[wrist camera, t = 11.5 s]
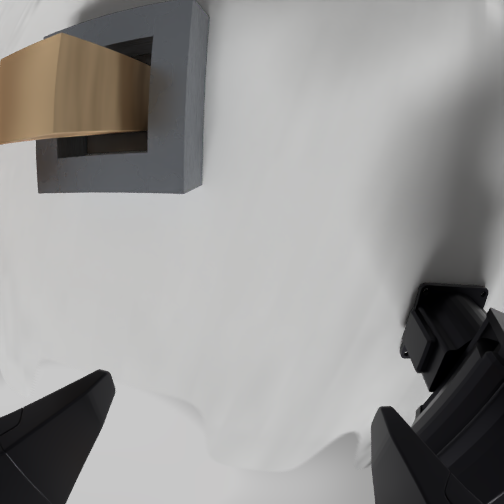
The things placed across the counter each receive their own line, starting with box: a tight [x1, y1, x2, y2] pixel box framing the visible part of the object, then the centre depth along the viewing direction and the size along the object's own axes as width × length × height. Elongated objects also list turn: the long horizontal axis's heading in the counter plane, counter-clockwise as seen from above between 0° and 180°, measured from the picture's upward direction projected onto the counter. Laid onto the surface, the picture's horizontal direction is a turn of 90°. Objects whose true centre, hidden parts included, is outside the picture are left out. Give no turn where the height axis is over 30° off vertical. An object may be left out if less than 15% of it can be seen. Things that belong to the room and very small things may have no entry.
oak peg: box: [0, 33, 151, 145], centre depth 14 cm, size 4×4×10 cm
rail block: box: [36, 0, 209, 194], centre depth 17 cm, size 11×12×4 cm
